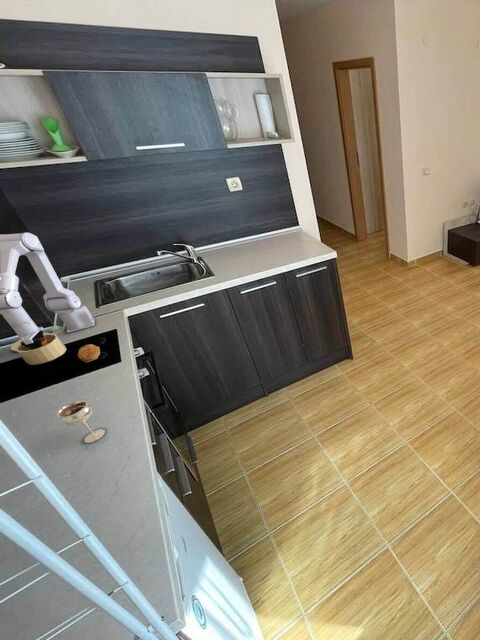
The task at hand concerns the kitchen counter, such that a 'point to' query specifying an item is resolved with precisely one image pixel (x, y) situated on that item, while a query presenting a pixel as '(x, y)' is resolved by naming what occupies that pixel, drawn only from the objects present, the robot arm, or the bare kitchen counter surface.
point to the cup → (44, 341)
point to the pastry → (88, 353)
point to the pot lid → (19, 343)
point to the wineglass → (79, 418)
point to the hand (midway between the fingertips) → (42, 350)
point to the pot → (43, 351)
